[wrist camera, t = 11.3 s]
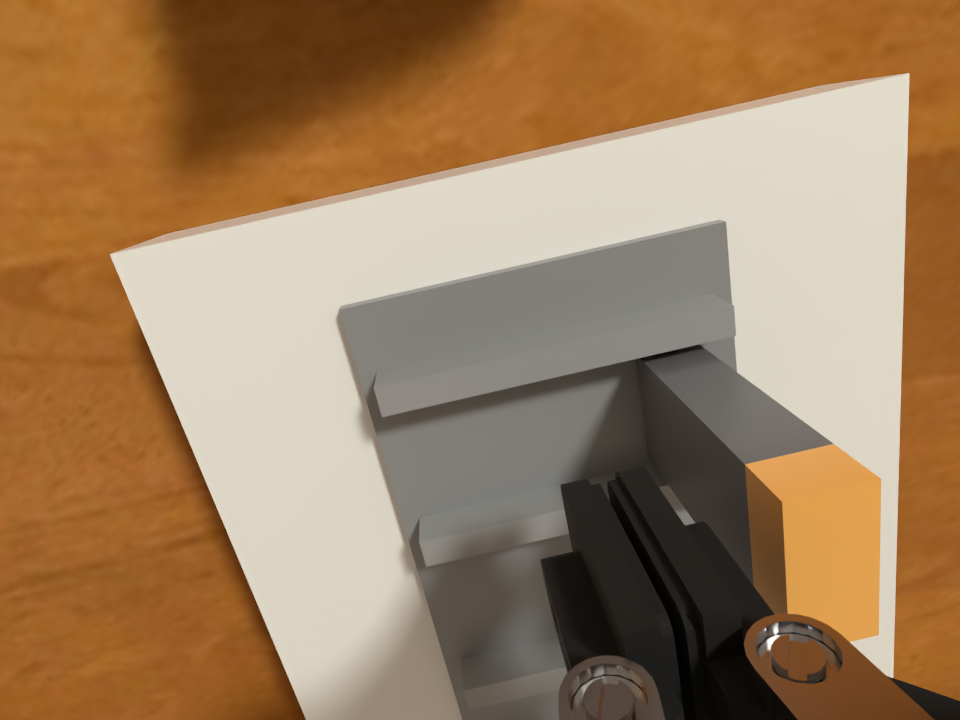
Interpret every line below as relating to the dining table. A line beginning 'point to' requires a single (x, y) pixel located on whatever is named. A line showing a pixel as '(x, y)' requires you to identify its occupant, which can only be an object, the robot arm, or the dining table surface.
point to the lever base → (517, 373)
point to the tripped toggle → (767, 489)
